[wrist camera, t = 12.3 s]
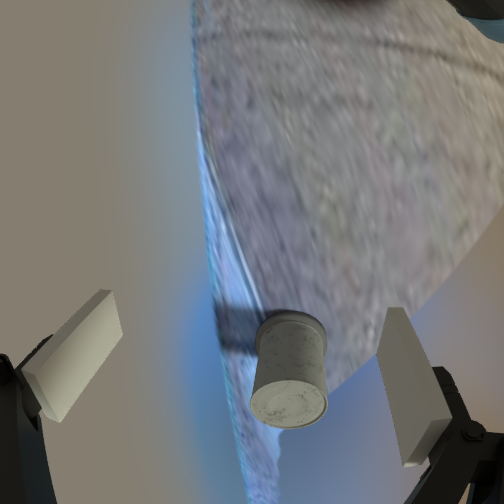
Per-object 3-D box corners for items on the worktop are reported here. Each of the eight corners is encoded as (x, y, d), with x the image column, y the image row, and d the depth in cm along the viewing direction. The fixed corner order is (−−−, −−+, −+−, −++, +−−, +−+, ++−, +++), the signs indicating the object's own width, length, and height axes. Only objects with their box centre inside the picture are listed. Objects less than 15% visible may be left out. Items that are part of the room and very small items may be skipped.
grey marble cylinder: (252, 326, 47) (240, 385, 35) (317, 315, 45) (323, 374, 33) (267, 373, 50) (259, 432, 39) (326, 364, 48) (331, 424, 37)
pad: (316, 302, 46) (317, 308, 44) (333, 357, 49) (333, 364, 48) (245, 320, 49) (244, 326, 47) (268, 371, 52) (268, 378, 50)
